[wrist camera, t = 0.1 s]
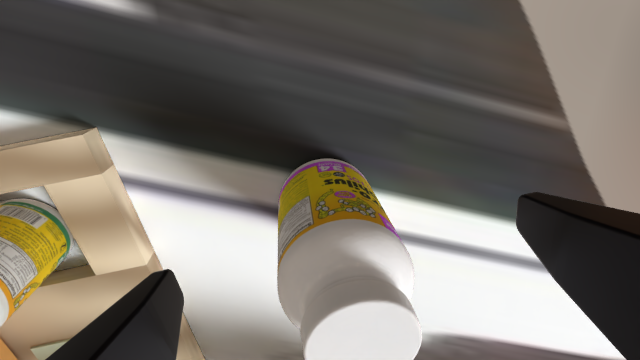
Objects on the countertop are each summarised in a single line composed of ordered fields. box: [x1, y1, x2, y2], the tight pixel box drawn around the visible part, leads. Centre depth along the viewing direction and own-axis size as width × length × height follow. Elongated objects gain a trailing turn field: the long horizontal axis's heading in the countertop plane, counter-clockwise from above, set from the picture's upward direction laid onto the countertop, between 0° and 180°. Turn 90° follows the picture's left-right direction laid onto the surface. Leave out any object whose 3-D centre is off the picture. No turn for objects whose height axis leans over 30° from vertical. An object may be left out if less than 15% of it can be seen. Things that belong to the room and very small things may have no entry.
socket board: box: [0, 127, 205, 360], centre depth 24 cm, size 22×14×2 cm, turn 10°
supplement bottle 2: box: [277, 159, 422, 360], centre depth 19 cm, size 7×7×13 cm
